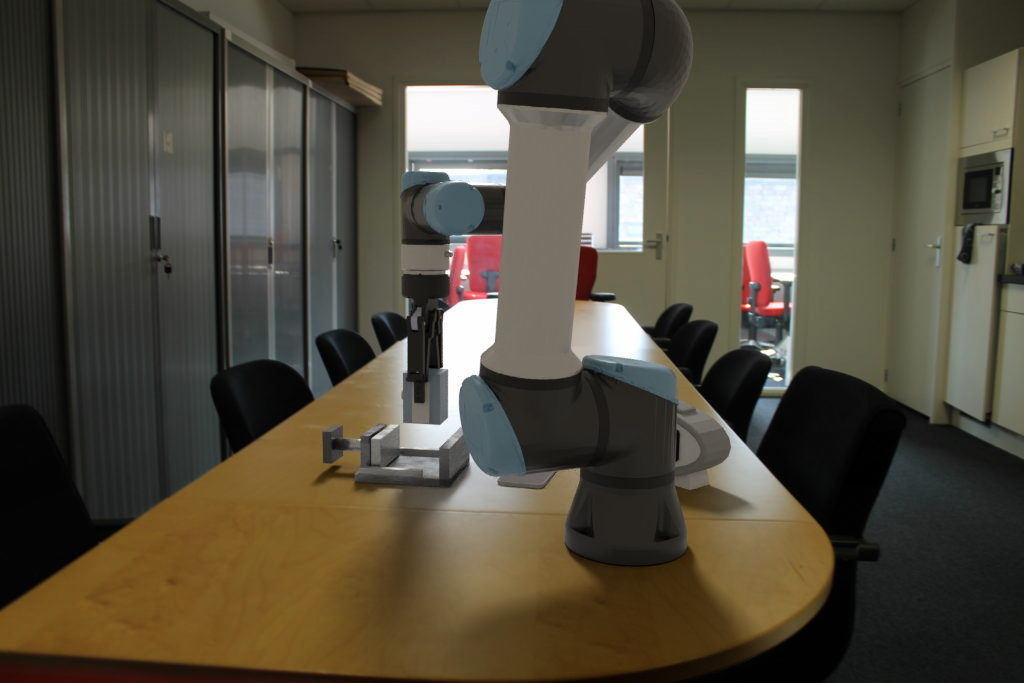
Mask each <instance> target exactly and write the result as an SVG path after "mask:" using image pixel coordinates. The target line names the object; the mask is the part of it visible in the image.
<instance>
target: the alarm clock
mask: <svg viewBox="0 0 1024 683" xmlns="http://www.w3.org/2000/svg"><path fill="white" fill-rule="evenodd" d="M678 401H679V405H678V406H677V431H676V460H675V487H679V488H682V489H685V490H689V491H692V490H695V489H698V488H702V487H705V486H708V485H710V478H709V473H708V471H707V470H708V469H712V468H714V467H717V466H719V465H721V464H723V463H724V461H726V460H727V458H728V457H730V453H731V450H732V444H731V439H730V437H729V434H728V433H727V431H726V430H725V429H724V427H723V426H722V425H721V424H720V423H719V422H718V421H717V420H716V419H714V417H712V416H711V415H709V414H707V413H706V412H704V411H703V410H701V409H699V408H696V407H695V406H694V405H692V404H689V403H688V402H687V401H684V400H682V399H679V398H678Z"/></svg>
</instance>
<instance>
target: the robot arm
mask: <svg viewBox="0 0 1024 683" xmlns="http://www.w3.org/2000/svg"><path fill="white" fill-rule="evenodd" d="M478 49H479V50H478V59H479V60H478V63H479V64H480V66H481V67H480V69H479V70H480V75H481V78H482V80H483V82H484V83H485V85H487V86H488V87H489V88H491V89H493V90H494V91H497V97H496V98H497V99H496V108H497V109H498V110H499V112H500V113H501V115H503V117H504V118H505V120H506V121H507V122H508V125H509V136H508V147H507V148H508V149H507V162H506V163H507V166H506V176H505V177H506V179H505V183H499V182H497V183H493V182H491V183H490V182H469V181H468V182H467V181H463V180H451V179H450V175H449V174H448V173H447V172H445V171H439V170H410V171H409V170H408V171H406V172H405V171H404V173H403V174H402V176H401V180H400V181H401V182H400V183H401V184H400V191H399V197H400V198H399V199H400V221H401V222H400V228H401V229H400V230H401V232H400V234H401V242H400V243H401V244H400V254H401V255H400V258H401V259H400V269H401V270H402V271H404V273H403V274H402V275H401V296H402V297H403V298H405V299H412V300H413V301H412V302H413V303H412V310H411V309H410V315H407V316H406V318H405V322H406V323H405V324H406V331H407V332H406V335H407V336H406V340H407V341H406V342H407V343H406V344H407V345H406V346H407V347H406V350H407V351H406V353H407V354H406V355H407V358H406V360H407V361H406V363H407V364H406V366H407V368H406V369H407V370H406V371H407V378H406V382H412V423H411V424H413V423H426V424H425V425H430V424H429V423H430V382H427V381H428V370H429V368H434V369H444V368H443V367H444V332H443V331H444V329H443V328H444V325H443V324H444V313H445V311H444V308H440V307H439V300H440V299H447V298H448V297H449V296H450V295H451V292H450V291H451V276H450V275H449V274H448V273H446V271H449V270H450V262H451V261H450V258H452V257H453V256H454V251H451V250H450V248H451V247H450V244H451V243H450V242H451V240H450V239H451V237H452V236H456V237H457V236H459V237H460V236H501V250H500V261H499V262H500V264H499V278H498V290H497V292H498V293H497V306H496V320H495V334H494V335H495V336H494V342H493V344H491V346H490V347H488V348H486V350H484V351H483V352H482V353H481V355H480V356H479V357H480V358H479V359H480V360H479V370H478V375H477V374H472V375H470V376H468V377H466V378H464V379H463V380H462V382H461V386H460V388H459V393H458V412H459V420H460V424H461V427H462V430H463V434H464V438H465V441H466V444H467V447H468V450H469V452H470V456H471V458H472V460H473V461H474V463H475V465H476V466H477V467H478V469H479V470H481V472H483V473H484V474H486V475H487V476H489V477H494V478H495V477H496V478H497V477H498V478H499V477H502V476H517V477H523V476H525V475H529V474H537V473H545V472H553V471H556V472H558V471H559V472H560V471H567V470H577V469H579V482H578V484H577V487H576V489H575V493H574V495H573V499H572V501H571V505H570V507H569V510H568V513H567V515H566V518H565V522H564V543H565V545H566V546H567V548H568V549H570V550H571V552H574V553H575V554H577V555H579V556H582V557H583V558H586V559H590V560H593V561H595V562H600V563H606V564H613V565H623V566H649V565H657V564H662V563H663V564H664V563H666V562H670V561H673V560H675V559H678V558H680V557H681V556H682V555H684V554H685V552H686V551H687V549H688V527H687V523H686V520H685V517H684V513H683V510H682V507H681V506H682V505H681V502H680V499H679V496H678V491H677V489H676V486H675V460H676V431H677V406H678V405H679V401H678V399H679V390H678V389H679V387H678V378H677V375H676V373H675V371H674V370H673V369H671V367H668V366H667V365H664V364H660V363H656V362H652V361H648V360H647V361H646V360H642V359H636V358H628V357H620V356H613V355H612V356H611V355H602V354H601V355H600V354H591V355H590V354H589V355H584V356H583V357H582V360H581V359H580V357H578V356H577V355H576V353H574V351H573V350H572V340H573V339H572V338H573V329H574V328H573V327H574V317H575V308H576V298H577V297H576V295H577V286H578V275H579V266H580V257H581V256H580V255H581V254H580V253H581V244H582V235H583V225H584V223H583V222H584V211H585V203H586V202H585V201H586V192H587V184H588V182H589V181H590V180H591V179H592V178H593V177H594V176H595V175H596V174H597V173H598V171H599V170H600V169H601V168H603V166H604V165H606V163H607V162H608V161H609V160H610V159H611V158H612V156H614V155H615V153H616V152H617V151H618V150H619V149H620V148H621V147H622V146H623V145H624V144H625V143H626V141H627V140H629V139H630V137H631V136H633V134H634V133H635V132H636V131H637V130H638V129H639V128H640V127H641V126H642V125H649V124H651V123H655V122H656V121H657V120H659V119H660V118H661V117H662V116H663V115H664V114H665V113H666V112H667V111H668V110H669V108H671V106H672V105H673V104H674V103H675V102H676V100H677V99H678V98H679V96H680V95H681V92H682V91H683V90H684V87H685V86H686V84H687V81H688V80H689V76H690V73H691V68H692V64H693V60H694V59H693V58H694V40H693V34H692V29H691V26H690V23H689V21H688V19H687V16H686V15H685V12H684V11H683V9H682V8H681V6H680V5H679V4H678V3H677V1H676V0H491V1H490V2H489V5H488V8H487V10H486V14H485V17H484V20H483V25H482V28H481V34H480V39H479V47H478Z"/></svg>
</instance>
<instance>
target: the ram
mask: <svg viewBox="0 0 1024 683" xmlns="http://www.w3.org/2000/svg"><path fill="white" fill-rule="evenodd" d="M343 427H344V426H343V424H333V425H330V427H328V428H326V429H324V430H322V432H321V433H322V463H323V464H329V465H331V464H334V463H335V462H337V461H338V460H339V459H341V458H342V457H343V456H344V452H348V451H349V452H360V438H347V437H344V428H343ZM400 427H401V426H400V424H392V423H391V424H389V425H388V426H387V428H385V429H384V430H382V431H381V432H380V433H378V434H377V435H375V436H374V437H373V438H371V466H374V467H385V466H387V465H388V464H389V463H390V462H391V461H392V460H394V459H395V458H396V457H397V456H398V455H399V454H400V447H401V441H400V440H401V439H400V438H401V437H400V436H401V431H400Z"/></svg>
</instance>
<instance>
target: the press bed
mask: <svg viewBox="0 0 1024 683" xmlns="http://www.w3.org/2000/svg"><path fill="white" fill-rule="evenodd" d="M387 425H388V424H387V423H377V424H375V425H374V426H372V427H370V429H368V430H366V431H365V432H363V433H362V434H360V436H359V439H360V465H359V466H358V468H357V470H358V471H357V472H355V473H354V482H355V483H369V484H370V483H371V484H385V485H386V484H389V485H403V486H405V485H407V486H419V487H420V486H421V487H437V488H451V486H452V485H453V483H455V481H456V480H457V479H458V478H459V476H460V475H461V474H462V472H463V471H464V470H465V469H466V468H467V467H468V465H469V464H470V458H471V457H470V456H471V454H470V452H469V450H468V447H467V444H466V441H465V438H464V434H463V430H462V426H461V427H459V428H458V429H457V430H456V431H455V432H454V433H453V434H452V435H451V436H450V437H449V438H448V439H447V440H446V441H445V442H444V443H443V444H442V445H440V446H439V448H432V447H411V446H400V454H399V455H398V456H397V457H396V458H395V459H394V460H392V461H391V462H390V463H389V464H388V465H387V466H385V467H374V466H371V438H373V437H374V436H375V435H377V434H378V433H380V432H381V431H382V430H384V429H385V428H387V427H388V426H387Z"/></svg>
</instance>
